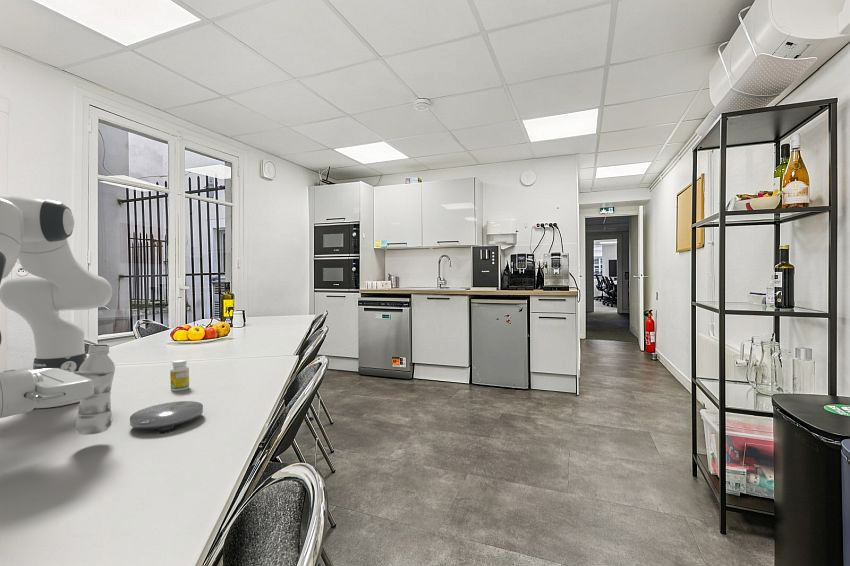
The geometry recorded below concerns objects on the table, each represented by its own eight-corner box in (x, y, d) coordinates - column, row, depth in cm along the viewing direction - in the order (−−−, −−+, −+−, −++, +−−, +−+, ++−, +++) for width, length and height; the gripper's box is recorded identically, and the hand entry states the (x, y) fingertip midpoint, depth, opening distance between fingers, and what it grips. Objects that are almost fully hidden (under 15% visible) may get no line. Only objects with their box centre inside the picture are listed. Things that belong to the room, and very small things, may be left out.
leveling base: (118, 426, 99) (117, 415, 99) (183, 408, 113) (183, 397, 113) (149, 440, 91) (149, 427, 91) (215, 418, 105) (215, 407, 105)
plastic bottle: (92, 439, 85) (98, 348, 86) (65, 436, 86) (72, 346, 87) (119, 429, 92) (125, 344, 92) (94, 427, 93) (100, 343, 93)
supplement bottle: (189, 389, 132) (189, 361, 132) (171, 392, 129) (170, 363, 129) (188, 385, 136) (187, 358, 136) (170, 388, 133) (169, 360, 133)
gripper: (35, 384, 73) (122, 368, 85) (0, 369, 83) (82, 357, 95) (35, 417, 73) (122, 397, 85) (1, 399, 83) (83, 383, 95)
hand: (101, 376), depth 90 cm, fingers closed on plastic bottle, 6 cm apart
